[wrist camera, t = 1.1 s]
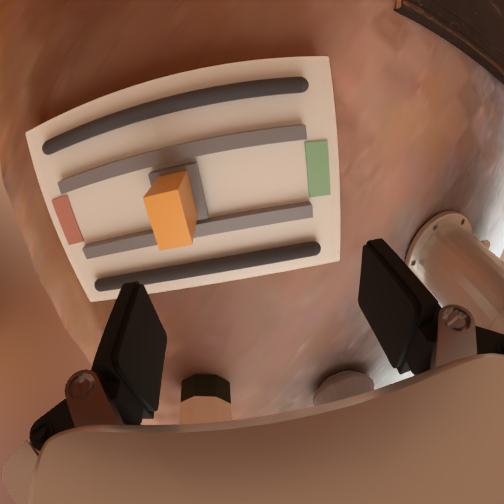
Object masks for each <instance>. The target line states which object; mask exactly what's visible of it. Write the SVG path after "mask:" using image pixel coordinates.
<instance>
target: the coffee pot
mask: <svg viewBox="0 0 504 504" xmlns="http://www.w3.org/2000/svg"><path fill="white" fill-rule="evenodd" d="M373 390H374V383H373V380H372V379H371V378H370V377H369V376H368V375H366V374H364V373H360V372H356V371H343V372H339V373H337V374H334V375H332V376H330V377H329V378H327V379H326V380H325V381H324V382H323V383H322V384H321V386H320V387H319V388H318V390H317V391H316V393H315V395H314V399H313V405H314V406H318V405H323V404H327V403H331V402H334V401H338V400H342V399H346V398H349V397H353V396H356V395H360V394H363V393H366V392H369V391H373Z"/></svg>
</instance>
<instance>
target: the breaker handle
mask: <svg viewBox="0 0 504 504" xmlns="http://www.w3.org/2000/svg"><path fill="white" fill-rule="evenodd" d="M148 176H149V180H150V184H151V187H150V189H149V190H148V191H147V193H146V194H145V195H144V197H143V200H144V203H145V207H146V210H147V213H148V217H149V220H150V223H151V226H152V229H153V232H154V235H155V239H156V242H157V245H158V248H159V250H160V251H162V250H167V249H172V248H178V247H183V246H189V245H193V239H194V233H195V228H196V222H197V220H202V219H208V209H207V205H206V200H205V196H204V191H203V187H202V182H201V177H200V173H199V168H198V163H197V161H194V162H189V163H185V164H180V165H176V166H171V167H167V168H163V169H159V170H155V171H151V172H150V173H149V174H148Z"/></svg>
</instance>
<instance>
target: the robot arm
mask: <svg viewBox="0 0 504 504" xmlns="http://www.w3.org/2000/svg"><path fill="white" fill-rule="evenodd" d="M489 247H490V243H489V241H488V240H483V241H479V240H478V239H477V238H476V237H474V236H473V235H472V227H471V225H470V222H469V221H468V219H467V218H466V217H465V216H463V215H462V214H461V213H458V212H456V211H445V212H442V213H440V214H437V215H436V216H434V217H433V218H431V219H430V220H429V221H428V222H427V223H425V224H424V226H423V227H422V228H421V229H420V230H419V232H418V233H417V235H416V236H415V237H414V239H413V241H412V243H411V245H410V247H409V250H408V253H407V256H406V261H405V263H404V262H403V260H402V259H401V258H400V257H399V256H398V255H397V254H396V253H395V252H394V251H393V250H392V249H391V247H390V246H389V245H388V244H387V243H386V242H385V241H384V240H383V239H375V240H369V241H367V243H366V245H364V246H363V252H362V265H361V276H360V286H359V295H358V302H359V306H360V308H361V310H362V312H363V313H364V315H365V317H366V319H367V321H368V322H369V324H370V326H371V328H372V330H373V331H374V333H375V335H376V337H377V339H378V341H379V343H380V344H381V346H382V348H383V350H384V352H385V354H386V356H387V358H388V360H389V362H390V364H391V365H392V367H393V368H397V370H398V372H399V374H402V373H405V372H408V371H410V370H411V372H412V373H413V374H414V376H413V377H410V378H407V379H404V380H402V381H399V382H396V383H393V384H390V385H388V386H385V387H382V388H379V389H376V390H373V391H369V392H366V393H363V394H360V395H356V396H353V397H349V398H346V399H342V400H338V401H334V402H331V403H327V404H323V405H318V406H314V407H310V408H305V409H300V410H296V411H291V412H285V413H280V414H274V415H268V416H262V417H255V418H248V419H240V420H232V421H223V422H212V423H199V424H180V425H141V424H140V423H141V422H142V419H153V418H154V411H157V410H158V405H159V396H160V388H161V379H162V372H163V364H164V357H165V350H166V344H167V336H166V332H165V330H164V328H163V326H162V324H161V322H160V320H159V317H158V315H157V313H156V311H155V309H154V307H153V304H152V302H151V300H150V298H149V295H148V293H147V291H146V288H145V286H144V285H143V284H140V283H139V282H138V281H134V282H128V283H124V284H123V285H122V287H121V290H120V292H119V295H118V297H117V299H116V302H115V304H114V307H113V309H112V312H111V314H110V317H109V320H108V322H107V325H106V327H105V330H104V333H103V336H102V338H101V341H100V344H99V347H98V350H97V353H96V356H95V359H94V362H93V366H92V369H91V370H87V369H85V370H81V371H78V372H76V373H74V374H73V375H72V376H71V377H70V378H69V380H68V381H67V383H66V385H65V397H66V399H64V400H63V401H62V402H60V403H59V404H58V405H56V406H55V407H54V408H52V409H51V410H50V411H49V412H47V413H46V414H45V415H43V416H42V417H41V418H39V419H38V420H37V421H36V422H35V423H34V424H33V426H32V428H31V431H30V442H28V441H27V440H26V441H25V442H24V443H23V444H22V445H21V447H20V448H19V449H18V450H17V451H16V452H15V454H14V455H13V456H12V457H11V458H10V459H9V461H8V462H7V463H6V464H5V465H4V467H3V469H2V481H3V483H4V485H5V487H6V489H7V490H8V492H9V494H10V496H11V497H12V499H13V500H14V502H15V504H504V262H503V261H501V260H500V259H499V258H498V257H497V256H496V255H495V254H494V253H492V252H491V251H490V250H489ZM430 291H431V292H432V293H433V294H434V296H435V297H436V298H437V299H438V300H439V302H440V303H441V304H442V305H443V308H441V307H440V305H439V304H438V301H437V300H436V299H435V297H434V296H433V295H432V294H431V293H430Z"/></svg>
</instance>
